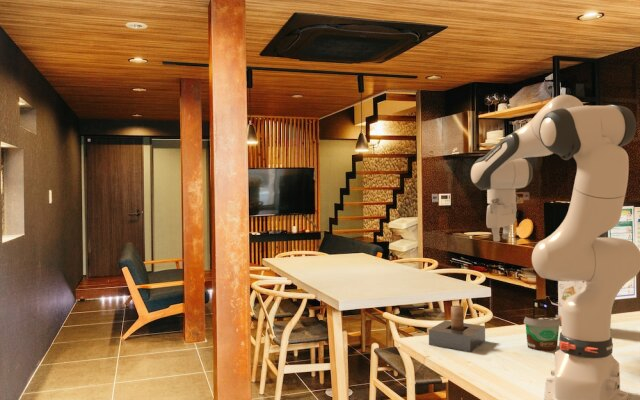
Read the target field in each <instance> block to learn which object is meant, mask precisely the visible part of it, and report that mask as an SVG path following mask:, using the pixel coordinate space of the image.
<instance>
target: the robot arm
mask: <svg viewBox="0 0 640 400" xmlns="http://www.w3.org/2000/svg"><path fill="white" fill-rule="evenodd" d="M636 131H637V120H636V116H635V115H634V113H633V111H632V110H631V109H629V107H626V106H622V105H617V104H606V105H586V104H585V105H584V103H583V102H582V101H581V100H580V99H579V98H577V97H576V96H574V95H569V94H560V95H557V96H555V97H553V98H552V99H551V100H549V101H548V102H547V103H546V104H544V106H543V107H541V108H540V110H538V112H537V113H536V114H534V117H533V118H532V119H531V120H530V121H528V122H527V123H525V124H524V125H523V126H522V127H520V128H518V129H517V130H515V131H513V132H512V133H510V134H508V135H506V136H505V137H504V138H502V139H501V140H500V141H499V142H498V143H497V144H496V145H495V146H493V148H492V149H490V151H488V153H486V155H484V156H482V157H479V158H477V160H476V161H475V162H474V163H473V164H472V165H471V168H470V180H471V182H472V184H473V185H474V186H475V187H476V188H478V189H479V190H480V191H486V192H487V193H486V197H487V198H486V199H487V200H486V201H487V202H486V203H487V204H488V205H487V207H486V220H485V221H486V228H488V229H491V232H492V238H493V239H492V240H493V241H494V242H495V243H498V242H500V241H501V237H502V239H503V240H507V239H509V238H510V232H511V226H512V225H515V223H516V219H517V204H518V202H519V196H517V194H516V189H523V188H526V187H527V186H528V185H530V183H531V181H532V180H533V174H534V172H533V171H534V170H533V166H532V164H531V162H529V161H528V160H527V159H526V158H537V157H546V156H550V155H553V154H556V155H557V156H559V157H560V158H561V160H564V161H568V160H570V159H572V158H573V159H574V160H575V162H576V174H575V177H574V178H575V179H574V182H573V183H574V184H573V189H572V194H571V200H570V203H569V206H568V211H567V213H566V215H565V217H564V219H563V220H562V222H561V223H560V225H559V226H558V227H557V228H556V229H555V231H553V232H552V233H551V234H550V235H548V236H547V237H546V238H544V239H542V240H539V241H538V242H537V243H536V244H535V246H534V248H533V251H532V252H531V253H532V254H531V265H532V267H533V269H534V271H535V272H536V274H537V275H538V277H540V278H542V279H545V280H550V281H557V282H558V281H584V284H583V286H582V288H581V289H580V291H579V292H577V293H576V294H574V295H572V296H570V297H568V298H567V299H566V300H565V301H564V303H563V305H562V326H561V331H560V332H559V336H558V348H559V349H558V350H556V351H555V352H554V370H553V369H551V371H550V374H551V376H552V377H548V378H545V379H546V380H545V386H544V387H545V388H544V399H543V400H629V393H627V392H624V391H623V390H621V376H620V372H621V371H620V362H619V361H617V359H616V358H614V356H613V354H612V353H613V348H614V343H613V338H612V337H611V325H612V324H611V323H612V311H613V306H614V303H615V301H616V298H617V296H618V295H619V293H620V291H621V290H622V288H623V287H624V286H625V285H626V284H627V283H628V282H629V281H631V280H632V279H634V278H635V277H636V276H637V275H638V274H639V272H640V249H639V247H638V246H637V245H636V243H634V242H633V241H631V240H629V239H623V238H618V237H610V236H609V237H606V236H605V237H601V235H603V234H605V233H607V232H609V231H610V230H613V229H614V228H615V227H616V226H617V225H618V224H619V222H620V220H621V216H622V212H623V206H624V202H625V199H626V194H627V189H628V188H627V187H628V182H629V171H630V170H629V167H630V166H629V165H630V164H629V159H630V158H629V155H628V153H627V150H625V149H624V148H623V146H624V147H625V146H626V145H628V144H629V143H630V142H632V140H633V139H634V138H635V135H636ZM500 228H502V229H503V230H502V233H501V234H502V235H500V231H501V229H500Z"/></svg>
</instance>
